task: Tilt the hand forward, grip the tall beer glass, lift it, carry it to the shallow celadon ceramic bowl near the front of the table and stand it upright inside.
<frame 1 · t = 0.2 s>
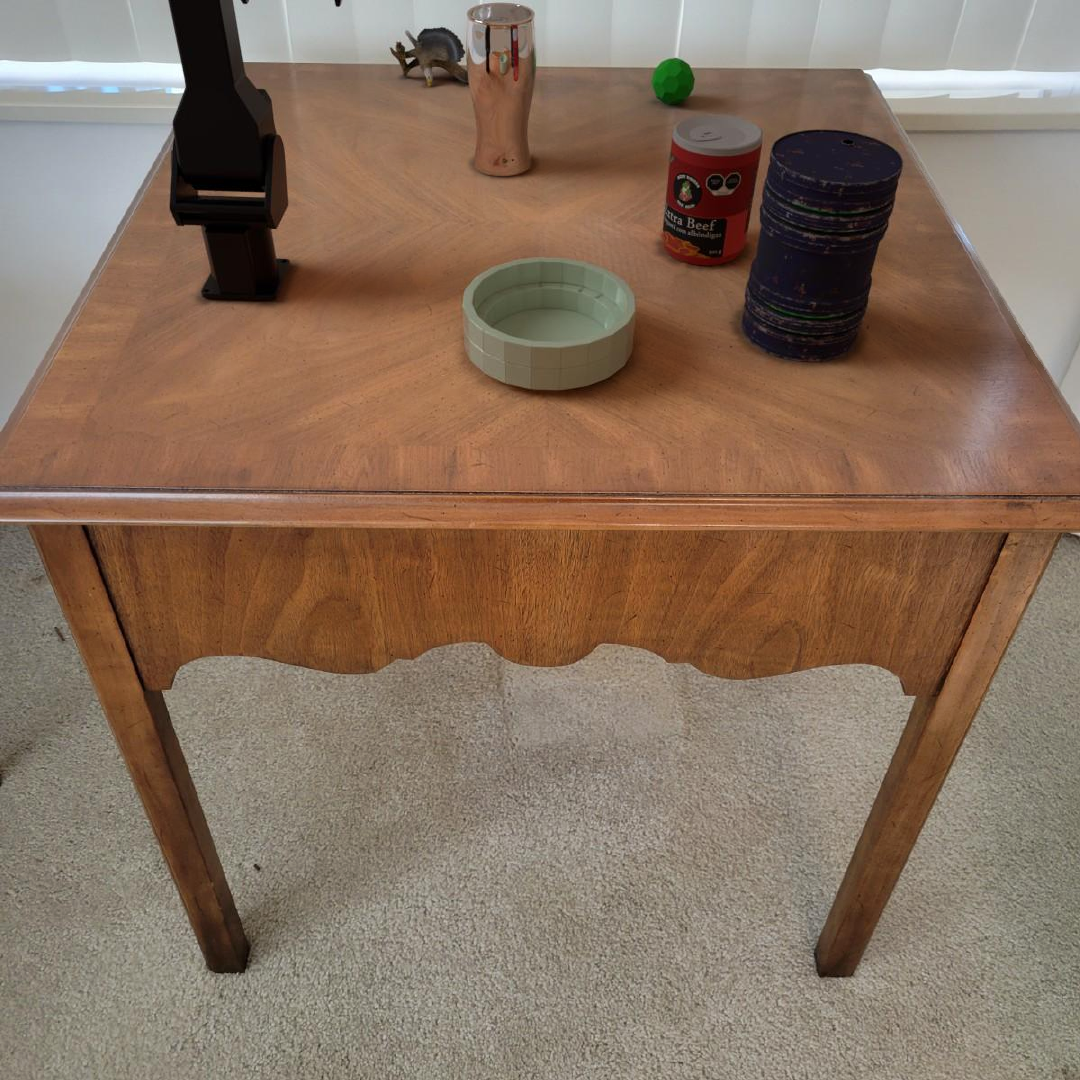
hand: (292, 4, 101), 15 cm above the table, tool pointing down, fingers open, 9 cm apart
bowl: (548, 347, 83), on the table
polyhedron: (670, 103, 122), on the table
storage jar: (798, 331, 86), on the table
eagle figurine: (434, 81, 126), on the table
canned food: (702, 248, 96), on the table
beer glass: (502, 166, 109), on the table
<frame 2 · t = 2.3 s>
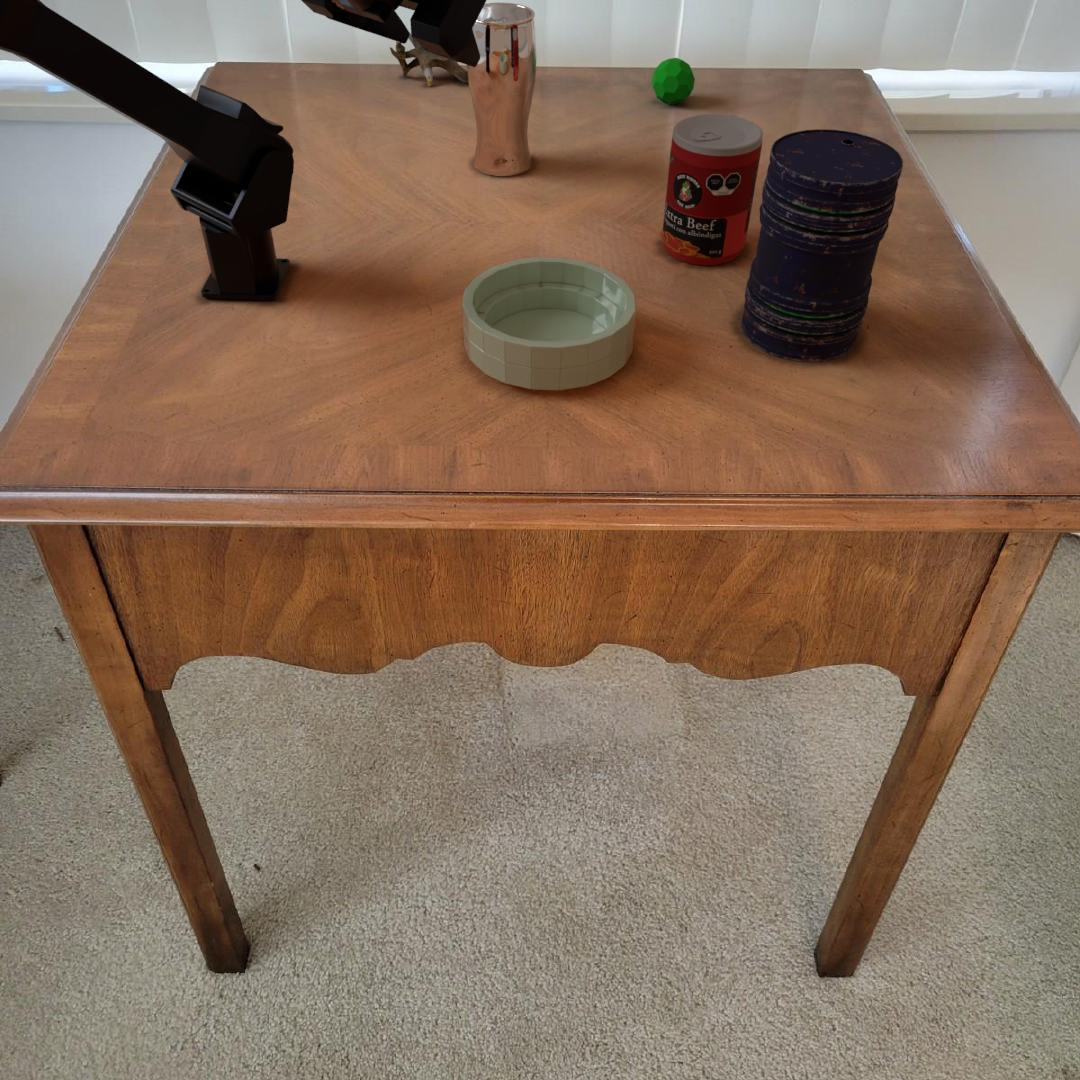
hand: (441, 50, 95), 13 cm above the table, tool tilted 45°, fingers open, 9 cm apart
nothing on the table moved.
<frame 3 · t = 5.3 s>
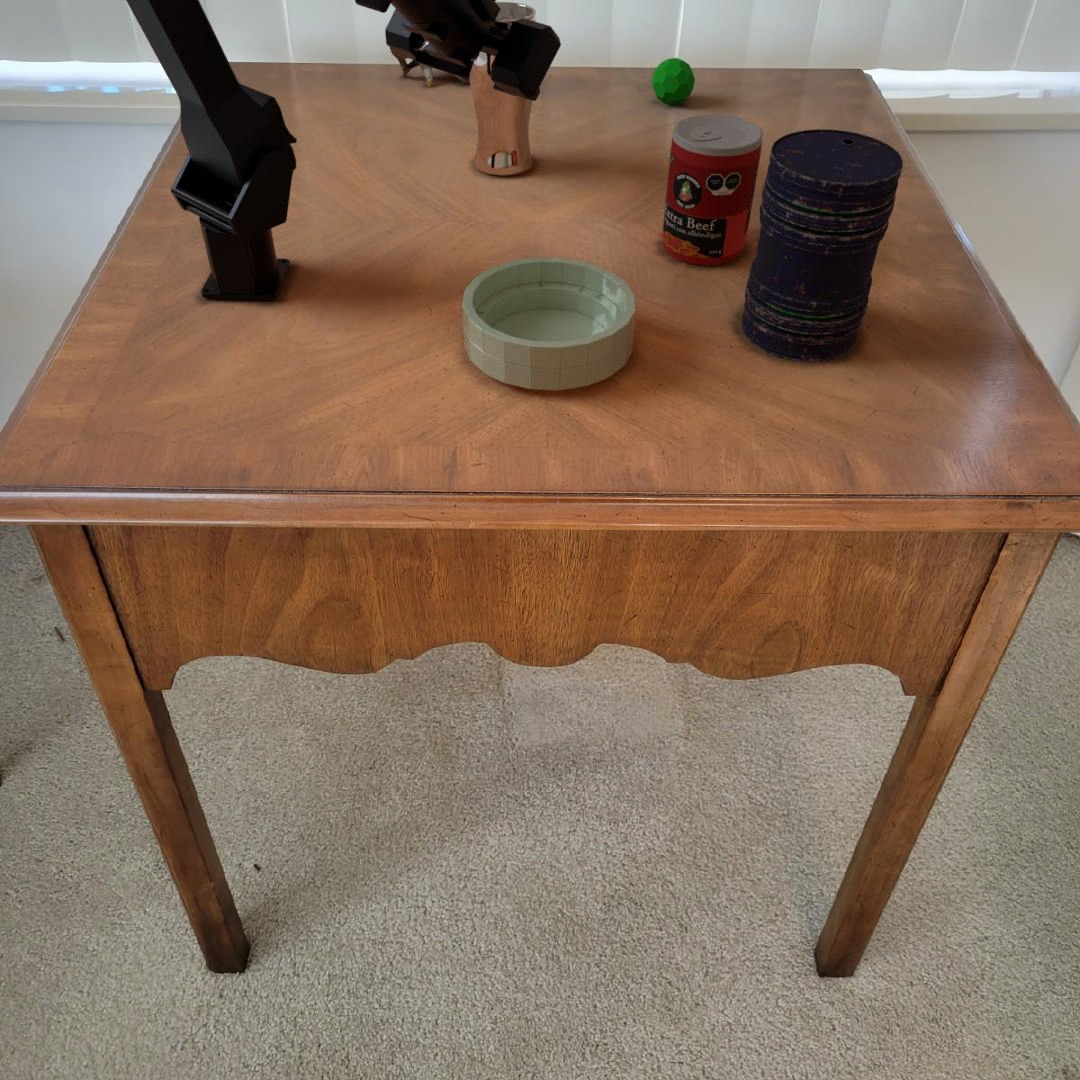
hand: (511, 87, 104), 8 cm above the table, tool tilted 45°, fingers closed on beer glass, 7 cm apart
beer glass: (503, 166, 109), on the table, touching gripper
everything else where it was.
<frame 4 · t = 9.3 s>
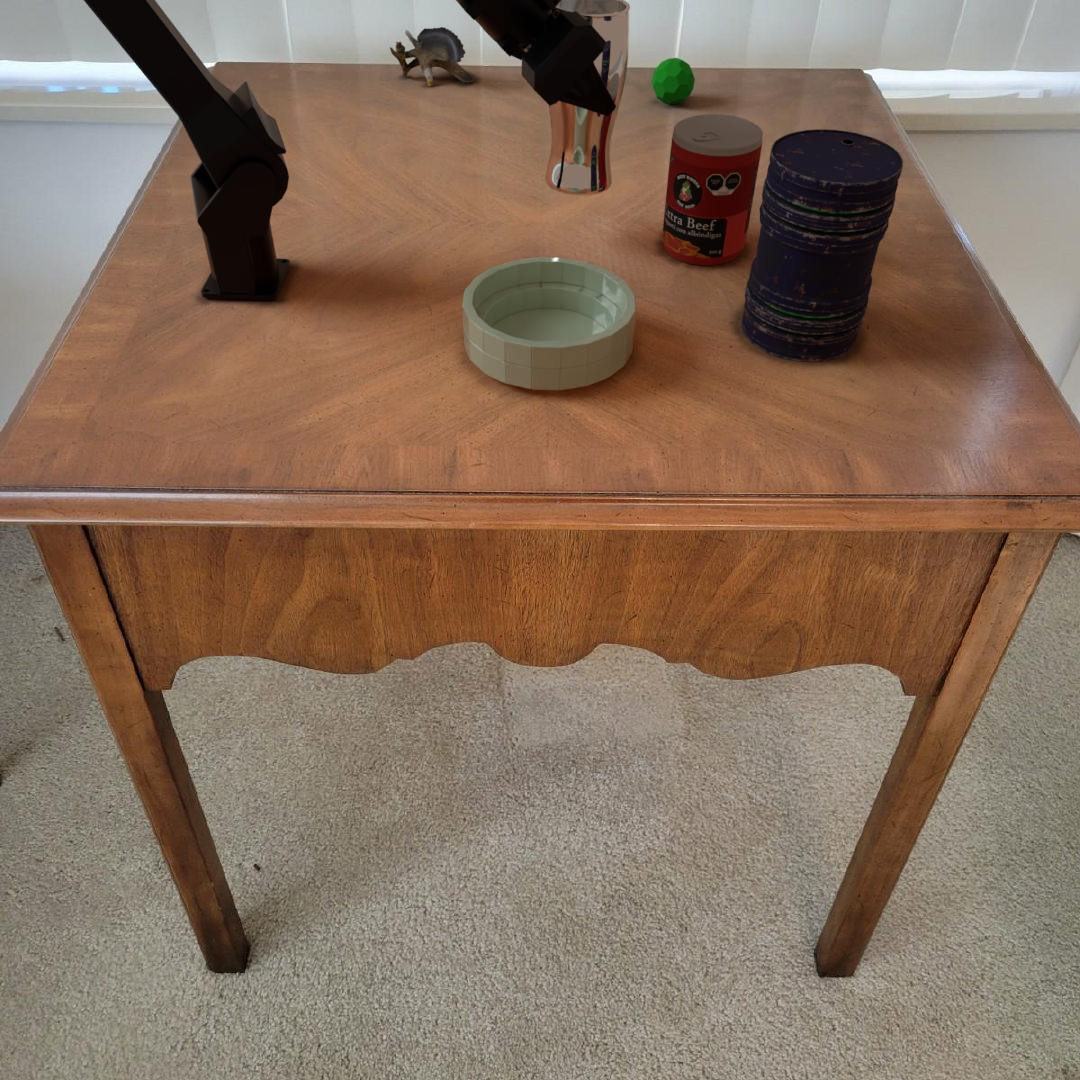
hand: (597, 96, 89), 13 cm above the table, tool tilted 45°, fingers closed on beer glass, 7 cm apart
beer glass: (578, 184, 94), point 5 cm above the table, touching gripper
everything else where it was.
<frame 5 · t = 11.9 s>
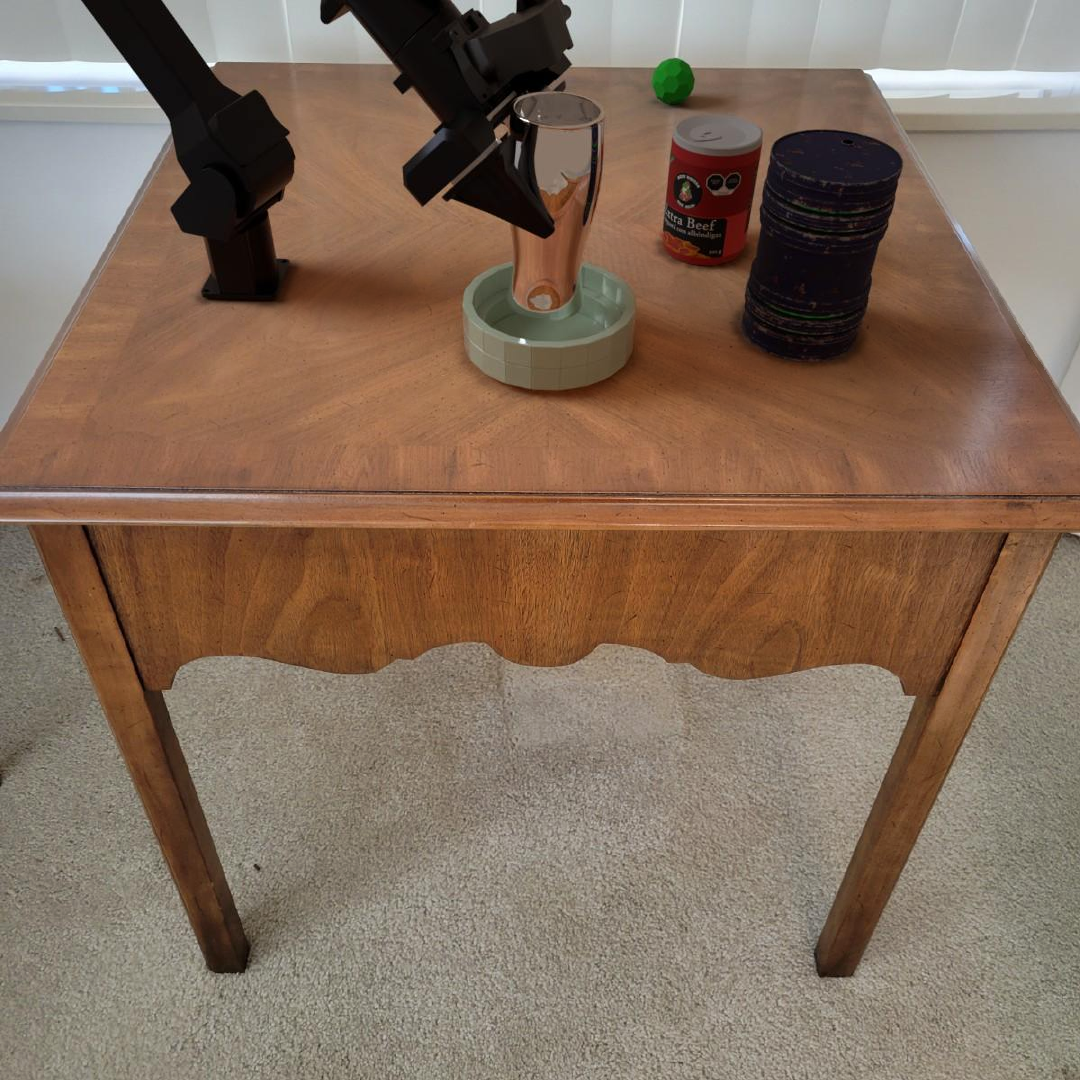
hand: (566, 214, 75), 12 cm above the table, tool tilted 45°, fingers closed on beer glass, 7 cm apart
beer glass: (545, 303, 80), point 4 cm above the table, touching gripper
everything else where it was.
when the fingers open (8 cm above the table, at t = 13.6 s): beer glass stays where it is, resting on bowl.
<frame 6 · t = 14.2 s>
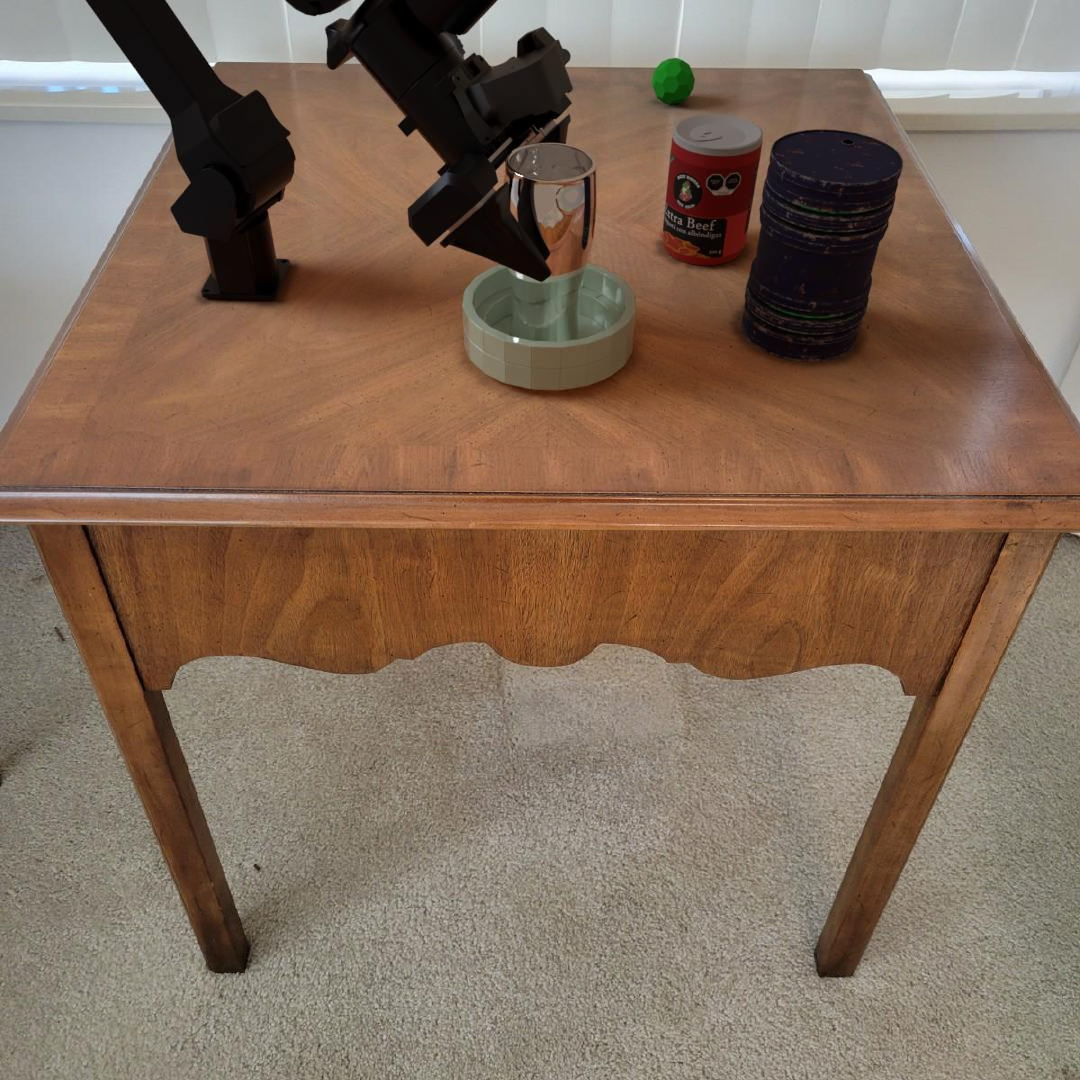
hand: (568, 249, 77), 9 cm above the table, tool tilted 45°, fingers open, 9 cm apart
beer glass: (544, 343, 83), resting on bowl, touching gripper
everything else where it was.
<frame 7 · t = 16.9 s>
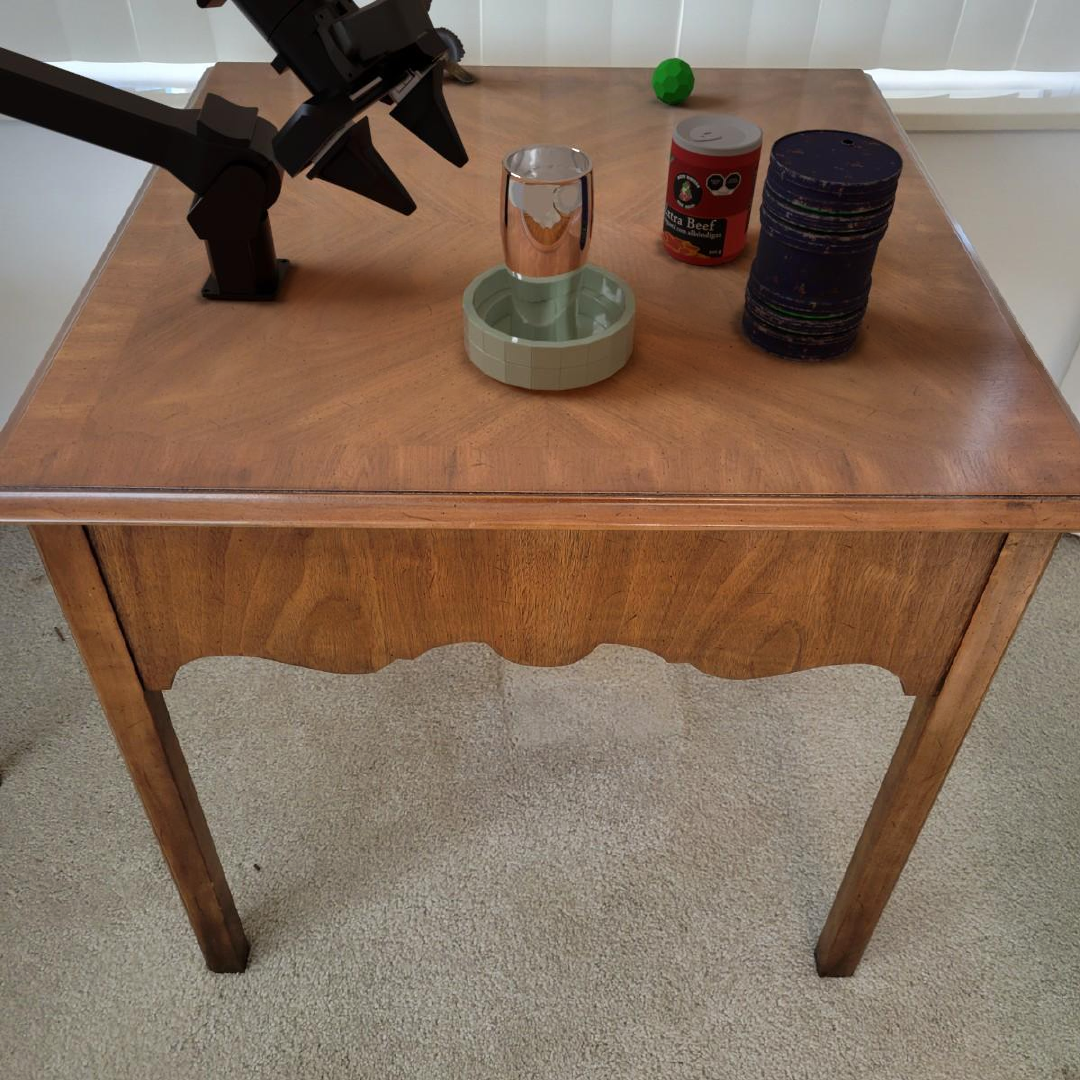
hand: (439, 187, 80), 11 cm above the table, tool tilted 45°, fingers open, 9 cm apart
beer glass: (544, 343, 83), resting on bowl
everything else where it was.
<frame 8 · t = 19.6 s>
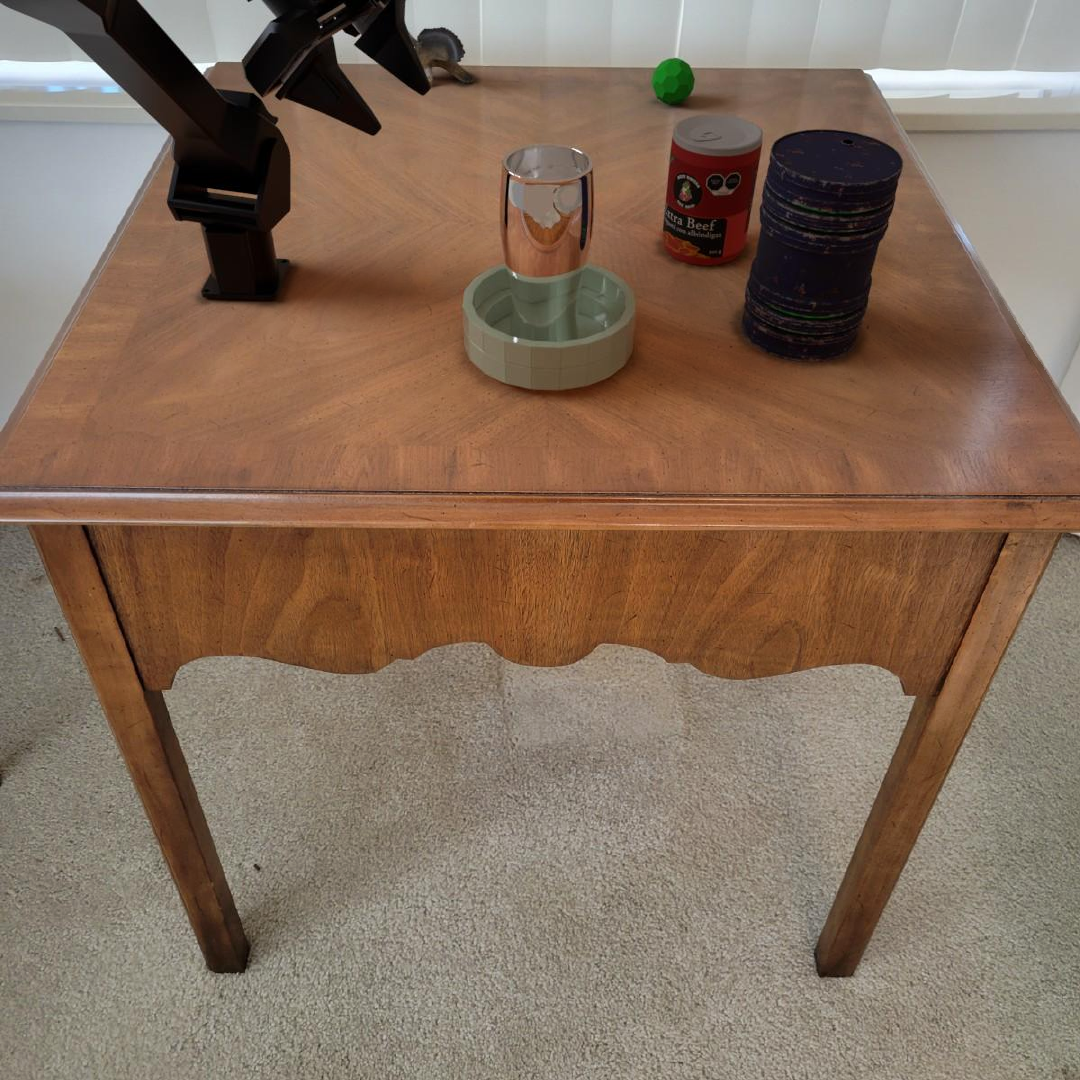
hand: (403, 111, 84), 14 cm above the table, tool tilted 45°, fingers open, 9 cm apart
nothing on the table moved.
at the end: beer glass inside the target area in the bowl (0.3 cm from its centre), point 0.4 cm above the bowl's base; beer glass tilted 0°; the gripper is holding nothing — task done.
